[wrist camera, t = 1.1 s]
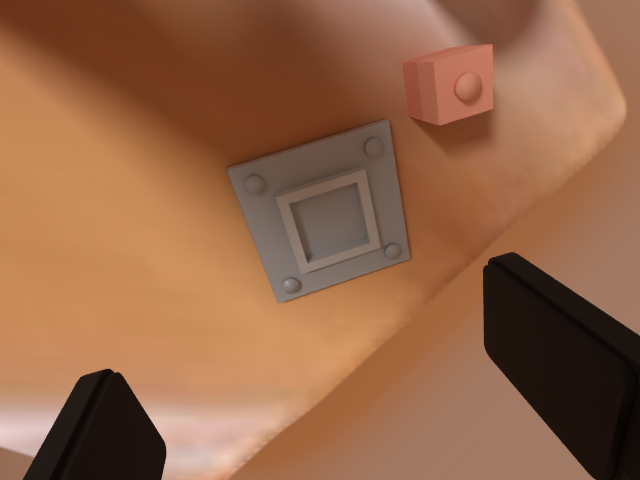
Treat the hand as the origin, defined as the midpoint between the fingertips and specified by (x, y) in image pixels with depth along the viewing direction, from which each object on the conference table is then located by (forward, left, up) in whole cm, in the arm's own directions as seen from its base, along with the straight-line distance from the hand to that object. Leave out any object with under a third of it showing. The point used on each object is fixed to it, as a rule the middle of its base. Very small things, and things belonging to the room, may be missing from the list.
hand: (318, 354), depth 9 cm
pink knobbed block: (-1, +17, -28) cm, 33 cm away
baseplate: (+9, +4, -28) cm, 30 cm away
